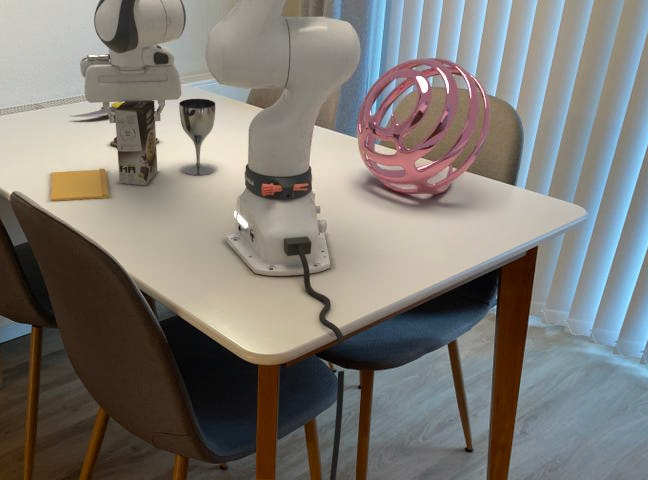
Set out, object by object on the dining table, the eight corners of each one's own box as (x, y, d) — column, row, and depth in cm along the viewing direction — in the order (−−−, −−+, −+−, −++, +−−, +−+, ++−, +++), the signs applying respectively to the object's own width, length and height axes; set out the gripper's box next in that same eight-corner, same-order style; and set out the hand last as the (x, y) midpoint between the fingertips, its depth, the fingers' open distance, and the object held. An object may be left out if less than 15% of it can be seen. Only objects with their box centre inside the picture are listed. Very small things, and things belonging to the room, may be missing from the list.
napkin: (109, 197, 163) (108, 194, 162) (51, 201, 161) (50, 197, 160) (105, 171, 176) (105, 168, 175) (52, 174, 174) (51, 171, 173)
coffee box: (147, 186, 169) (142, 111, 160) (118, 183, 170) (113, 109, 161) (158, 171, 176) (155, 99, 167) (131, 169, 177) (127, 97, 168)
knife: (79, 126, 204) (159, 111, 217) (78, 116, 203) (158, 101, 216) (65, 119, 209) (144, 104, 222) (64, 109, 208) (143, 95, 221)
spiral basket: (455, 72, 177) (397, 10, 157) (540, 133, 161) (488, 73, 141) (374, 169, 187) (310, 123, 166) (446, 237, 171) (385, 194, 150)
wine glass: (173, 169, 177) (171, 103, 169) (198, 161, 182) (197, 96, 174) (198, 178, 173) (197, 110, 165) (222, 169, 178) (222, 103, 169)
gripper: (79, 58, 154) (86, 127, 162) (181, 55, 157) (183, 123, 165) (79, 51, 159) (85, 119, 167) (177, 49, 162) (179, 115, 170)
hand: (134, 121), depth 166 cm, fingers open, 8 cm apart
